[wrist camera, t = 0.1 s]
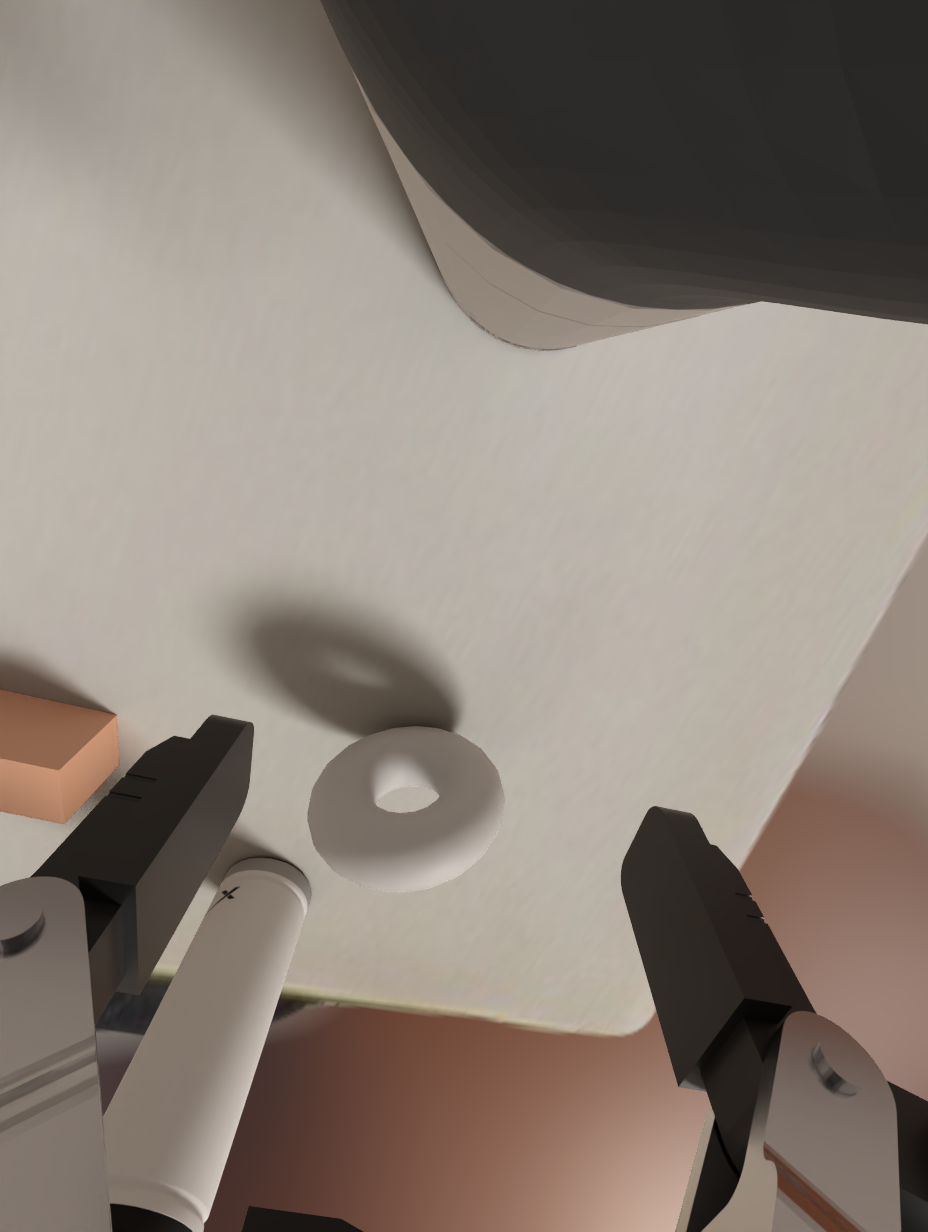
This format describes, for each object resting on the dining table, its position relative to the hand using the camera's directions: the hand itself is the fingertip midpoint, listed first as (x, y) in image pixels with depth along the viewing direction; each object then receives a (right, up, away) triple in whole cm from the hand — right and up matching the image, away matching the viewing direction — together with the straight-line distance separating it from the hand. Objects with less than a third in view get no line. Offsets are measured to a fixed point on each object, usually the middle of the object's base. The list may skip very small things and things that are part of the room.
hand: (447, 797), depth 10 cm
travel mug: (-14, -16, +27) cm, 34 cm away
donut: (-2, -4, +21) cm, 22 cm away
